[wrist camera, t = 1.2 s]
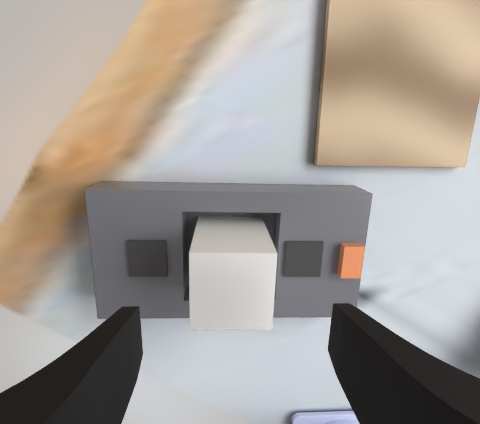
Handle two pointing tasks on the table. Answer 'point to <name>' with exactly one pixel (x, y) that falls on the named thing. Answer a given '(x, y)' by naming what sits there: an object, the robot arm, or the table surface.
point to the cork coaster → (398, 83)
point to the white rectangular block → (231, 274)
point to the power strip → (224, 204)
